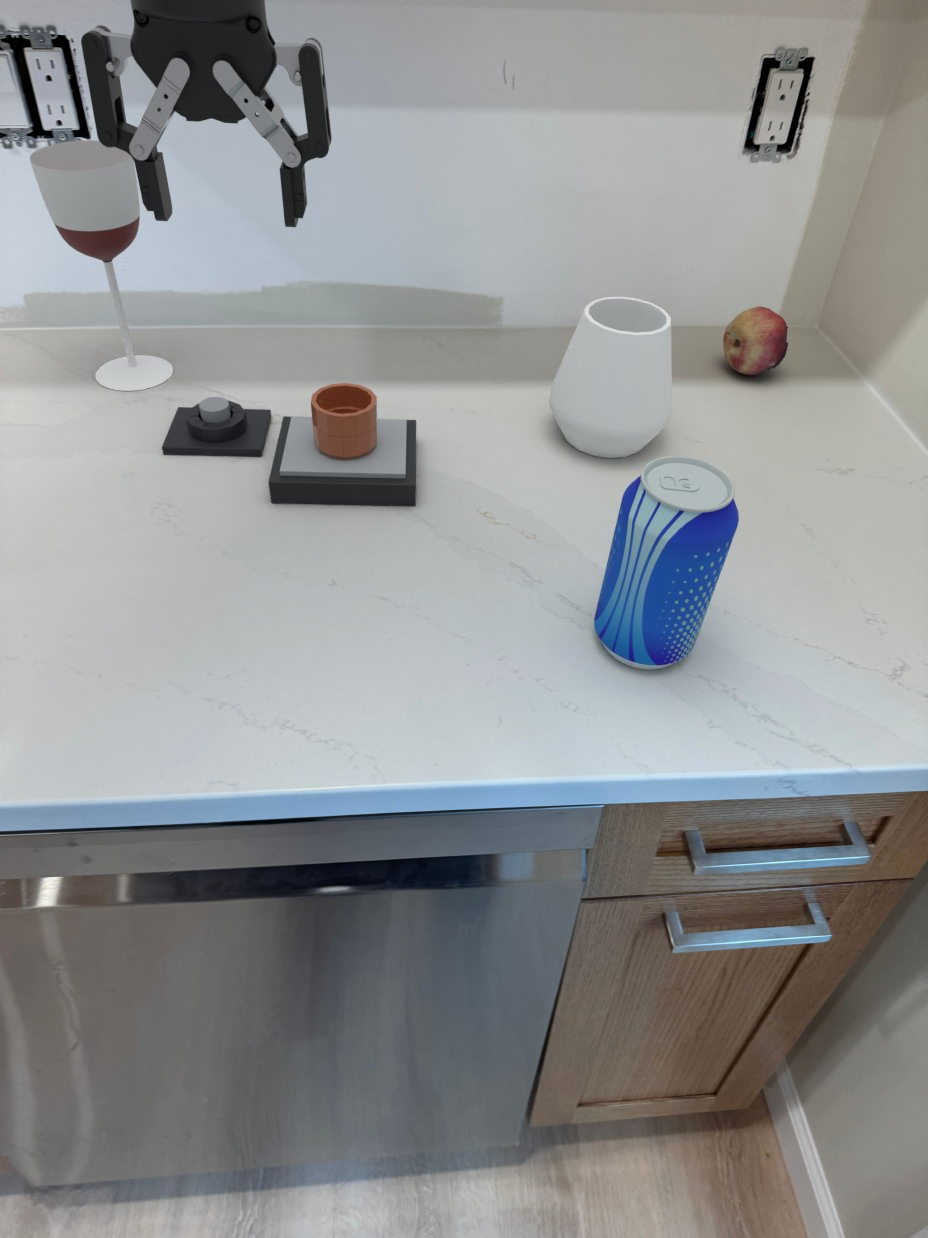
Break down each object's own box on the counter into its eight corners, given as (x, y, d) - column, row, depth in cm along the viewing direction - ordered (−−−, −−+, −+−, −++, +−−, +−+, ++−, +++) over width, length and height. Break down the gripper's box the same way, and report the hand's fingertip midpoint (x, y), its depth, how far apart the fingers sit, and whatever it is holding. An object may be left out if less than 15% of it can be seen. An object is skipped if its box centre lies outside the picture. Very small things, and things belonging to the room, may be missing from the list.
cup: (529, 450, 89) (545, 326, 79) (561, 394, 98) (579, 277, 88) (651, 481, 86) (683, 356, 76) (673, 419, 95) (704, 301, 85)
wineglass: (76, 387, 93) (9, 164, 77) (117, 348, 100) (63, 136, 84) (153, 398, 92) (101, 174, 76) (189, 357, 99) (148, 145, 83)
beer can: (631, 591, 73) (673, 435, 62) (711, 642, 69) (771, 485, 58) (570, 636, 69) (604, 476, 57) (652, 693, 65) (705, 533, 53)
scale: (271, 503, 80) (267, 476, 77) (285, 436, 88) (282, 410, 86) (415, 506, 80) (415, 479, 78) (416, 439, 89) (416, 414, 87)
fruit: (713, 354, 108) (730, 293, 102) (772, 361, 107) (793, 300, 102) (718, 382, 102) (736, 320, 96) (780, 390, 102) (802, 327, 96)
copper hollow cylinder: (312, 460, 80) (308, 415, 76) (317, 426, 84) (314, 381, 81) (376, 462, 80) (375, 417, 77) (378, 427, 85) (377, 383, 81)
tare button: (199, 424, 85) (196, 410, 84) (204, 409, 87) (201, 396, 86) (228, 424, 85) (226, 411, 84) (233, 410, 87) (230, 396, 86)
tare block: (163, 454, 84) (158, 433, 83) (179, 413, 90) (175, 393, 88) (261, 456, 85) (258, 435, 83) (271, 416, 91) (269, 396, 89)
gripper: (26, -99, 41) (106, 236, 53) (311, -80, 42) (330, 245, 54) (71, -109, 47) (135, 197, 58) (323, -92, 48) (338, 206, 59)
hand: (229, 220), depth 56 cm, fingers open, 8 cm apart
